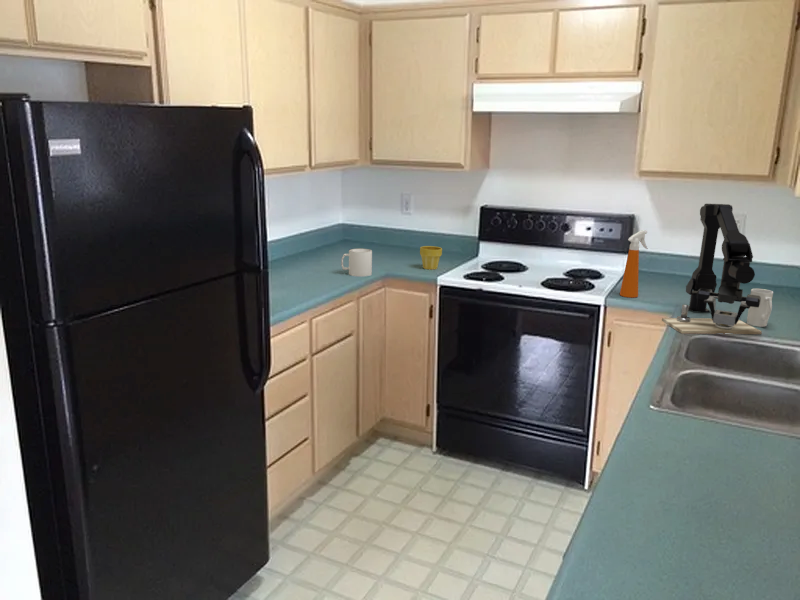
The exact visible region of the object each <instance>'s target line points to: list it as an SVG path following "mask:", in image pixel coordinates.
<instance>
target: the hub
mask: <svg viewBox="0 0 800 600" xmlns="http://www.w3.org/2000/svg"><path fill="white" fill-rule="evenodd" d="M725 315H729V314H725ZM715 327H716V328H719V329H724V330H731V329H732V328H733V326H732V325H725V324H719V323H716V324H715Z"/></svg>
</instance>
